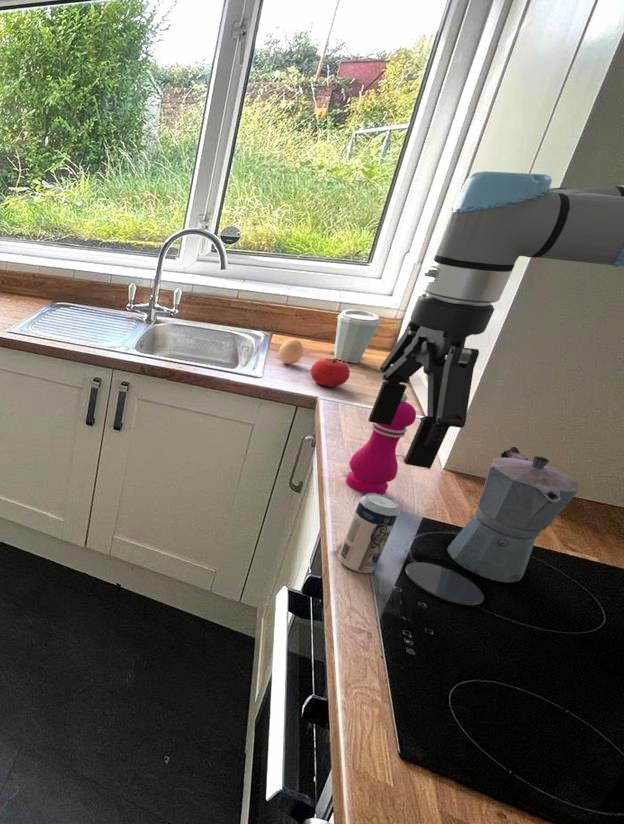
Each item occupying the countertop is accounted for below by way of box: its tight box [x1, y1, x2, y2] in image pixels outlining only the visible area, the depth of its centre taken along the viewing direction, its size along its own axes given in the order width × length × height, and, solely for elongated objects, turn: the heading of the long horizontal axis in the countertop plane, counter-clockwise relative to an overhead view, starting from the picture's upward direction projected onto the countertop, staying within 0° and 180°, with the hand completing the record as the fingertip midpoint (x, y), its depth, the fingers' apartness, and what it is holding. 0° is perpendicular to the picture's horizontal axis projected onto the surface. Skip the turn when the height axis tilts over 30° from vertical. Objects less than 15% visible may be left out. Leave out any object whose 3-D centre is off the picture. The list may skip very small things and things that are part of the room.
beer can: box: [337, 493, 400, 574], centre depth 89 cm, size 5×5×12 cm
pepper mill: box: [345, 392, 417, 496], centre depth 108 cm, size 7×7×20 cm
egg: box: [278, 338, 304, 365], centre depth 175 cm, size 6×6×8 cm
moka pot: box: [446, 446, 579, 584], centre depth 89 cm, size 10×15×20 cm, turn 159°
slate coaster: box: [404, 561, 485, 607], centre depth 87 cm, size 9×9×1 cm
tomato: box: [310, 357, 351, 388], centre depth 160 cm, size 9×9×8 cm
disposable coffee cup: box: [333, 309, 382, 364], centre depth 179 cm, size 11×11×15 cm
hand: (396, 442), depth 83 cm, fingers open, 13 cm apart
